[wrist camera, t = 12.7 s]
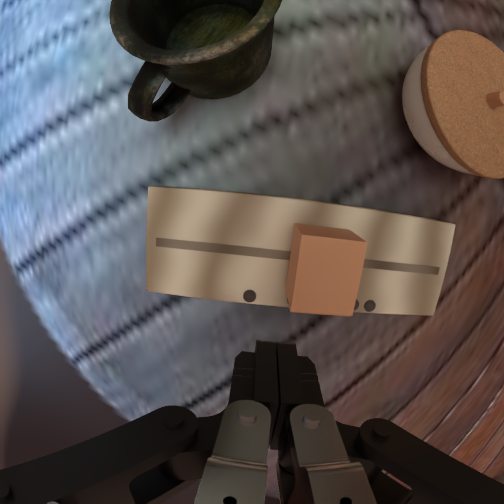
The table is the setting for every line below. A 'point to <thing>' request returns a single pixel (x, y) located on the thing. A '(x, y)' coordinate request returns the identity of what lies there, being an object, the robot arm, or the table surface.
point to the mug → (192, 48)
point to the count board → (286, 248)
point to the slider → (324, 270)
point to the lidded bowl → (458, 103)
